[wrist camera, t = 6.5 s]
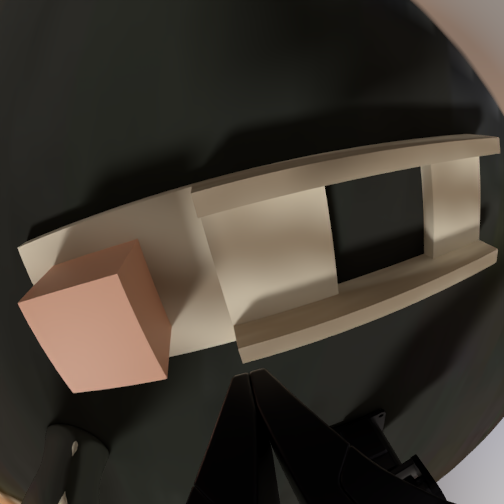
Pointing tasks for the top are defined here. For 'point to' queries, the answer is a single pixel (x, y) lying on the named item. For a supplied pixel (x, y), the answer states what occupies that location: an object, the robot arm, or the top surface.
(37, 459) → the top surface
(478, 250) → the beige open frame tray
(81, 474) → the beer glass
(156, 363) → the block
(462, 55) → the top surface
